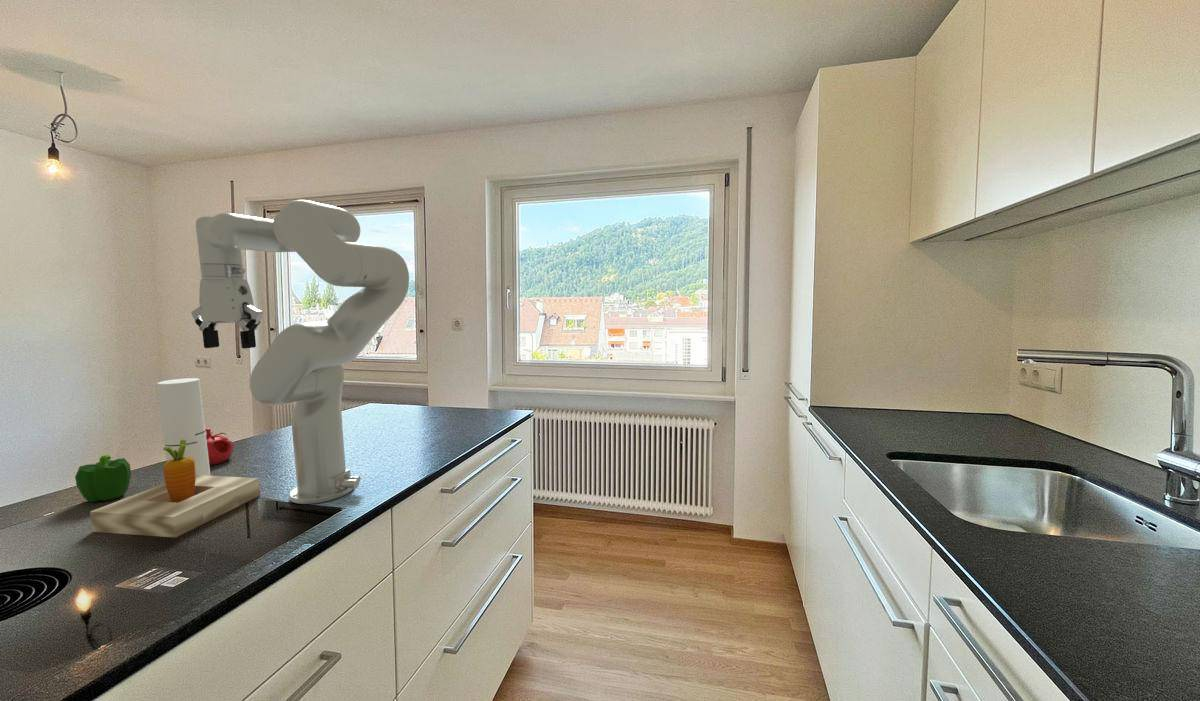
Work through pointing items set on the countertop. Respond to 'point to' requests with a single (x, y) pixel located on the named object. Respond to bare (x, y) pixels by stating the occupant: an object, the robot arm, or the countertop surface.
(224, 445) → the pomegranate
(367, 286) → the robot arm
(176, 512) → the maple block
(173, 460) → the carrot
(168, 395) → the cylindrical container
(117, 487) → the bell pepper
